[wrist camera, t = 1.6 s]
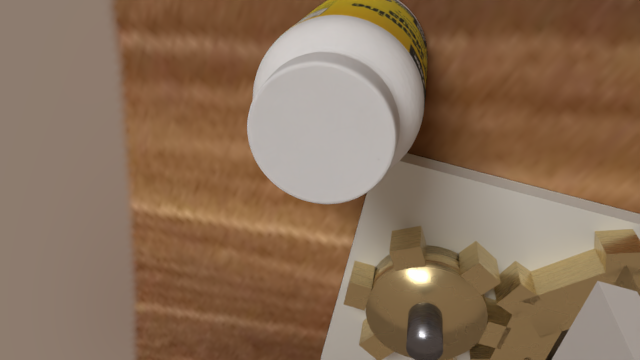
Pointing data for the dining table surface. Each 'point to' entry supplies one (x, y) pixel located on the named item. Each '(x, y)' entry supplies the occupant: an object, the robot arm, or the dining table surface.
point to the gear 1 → (427, 300)
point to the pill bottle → (339, 99)
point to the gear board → (465, 229)
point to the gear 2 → (558, 295)
